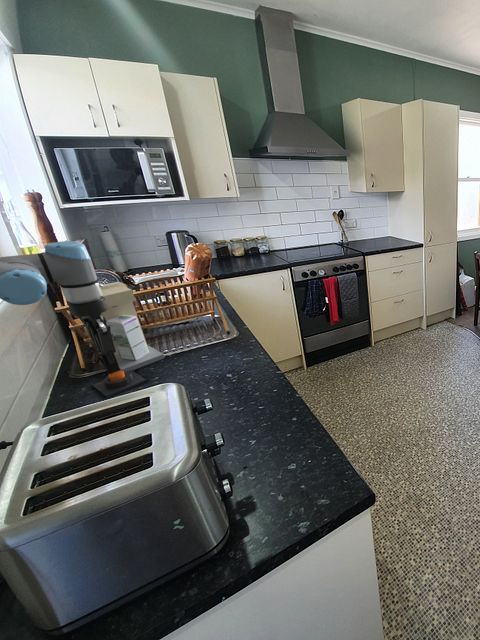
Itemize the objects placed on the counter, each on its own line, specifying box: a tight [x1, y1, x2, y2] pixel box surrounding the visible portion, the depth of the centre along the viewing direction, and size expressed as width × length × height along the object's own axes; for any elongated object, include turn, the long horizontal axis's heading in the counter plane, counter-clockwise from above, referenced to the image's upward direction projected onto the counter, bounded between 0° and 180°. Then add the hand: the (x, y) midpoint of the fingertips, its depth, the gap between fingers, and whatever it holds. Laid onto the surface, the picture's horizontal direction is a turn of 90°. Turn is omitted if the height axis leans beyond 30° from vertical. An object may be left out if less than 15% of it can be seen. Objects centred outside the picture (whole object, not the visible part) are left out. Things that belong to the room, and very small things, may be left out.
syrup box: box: [106, 315, 149, 360], centre depth 116 cm, size 6×6×14 cm
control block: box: [92, 370, 147, 399], centre depth 106 cm, size 10×10×3 cm
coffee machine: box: [97, 281, 165, 372], centre depth 116 cm, size 12×18×25 cm, turn 58°
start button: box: [107, 370, 125, 381], centre depth 106 cm, size 4×4×2 cm
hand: (113, 371), depth 105 cm, fingers closed
